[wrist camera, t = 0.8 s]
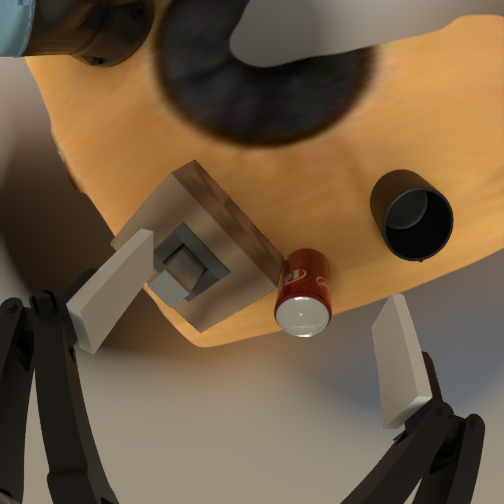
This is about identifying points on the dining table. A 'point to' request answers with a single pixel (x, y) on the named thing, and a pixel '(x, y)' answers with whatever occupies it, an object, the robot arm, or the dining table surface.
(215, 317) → the socket block
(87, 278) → the robot arm
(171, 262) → the peg
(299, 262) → the soda can
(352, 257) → the dining table surface
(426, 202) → the mug
